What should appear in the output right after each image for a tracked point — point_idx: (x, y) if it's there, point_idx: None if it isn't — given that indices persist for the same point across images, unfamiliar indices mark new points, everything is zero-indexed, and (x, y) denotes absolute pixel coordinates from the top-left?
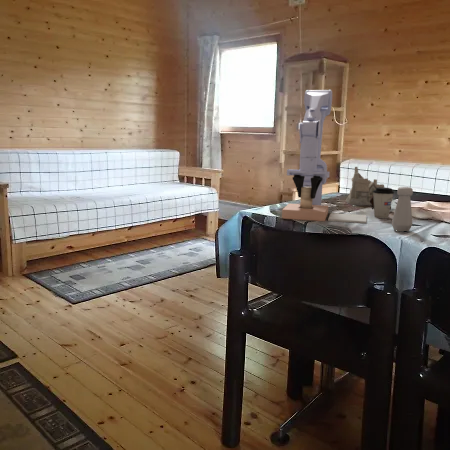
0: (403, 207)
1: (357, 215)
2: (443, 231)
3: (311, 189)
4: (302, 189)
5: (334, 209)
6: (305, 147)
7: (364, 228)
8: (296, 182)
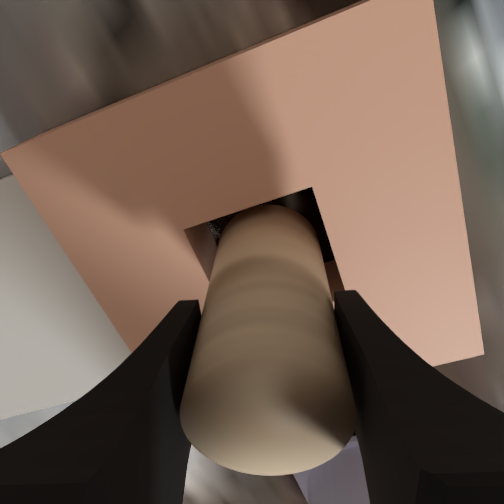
0: None
1: (2, 395)
2: None
3: (162, 360)
4: (303, 340)
5: (239, 500)
6: None
7: None
8: (445, 410)
